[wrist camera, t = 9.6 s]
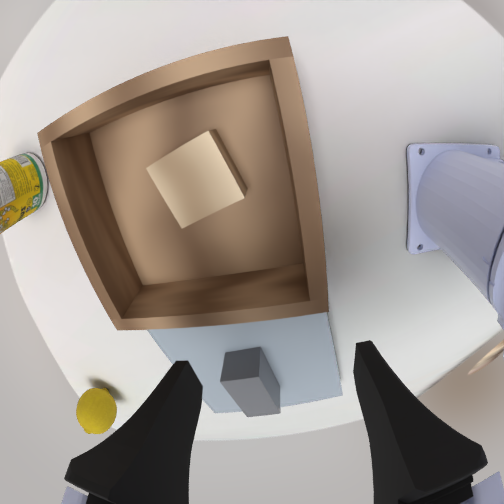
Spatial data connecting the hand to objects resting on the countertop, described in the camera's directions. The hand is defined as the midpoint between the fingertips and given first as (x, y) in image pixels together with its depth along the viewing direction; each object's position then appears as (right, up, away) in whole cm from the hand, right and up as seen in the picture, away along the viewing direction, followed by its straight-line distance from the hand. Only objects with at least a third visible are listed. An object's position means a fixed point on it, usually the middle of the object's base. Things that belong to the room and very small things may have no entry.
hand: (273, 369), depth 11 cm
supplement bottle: (-20, +11, +6) cm, 24 cm away
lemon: (-21, -14, +20) cm, 33 cm away
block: (-4, +10, +5) cm, 11 cm away
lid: (-1, -4, +13) cm, 14 cm away
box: (-5, +9, +6) cm, 12 cm away
